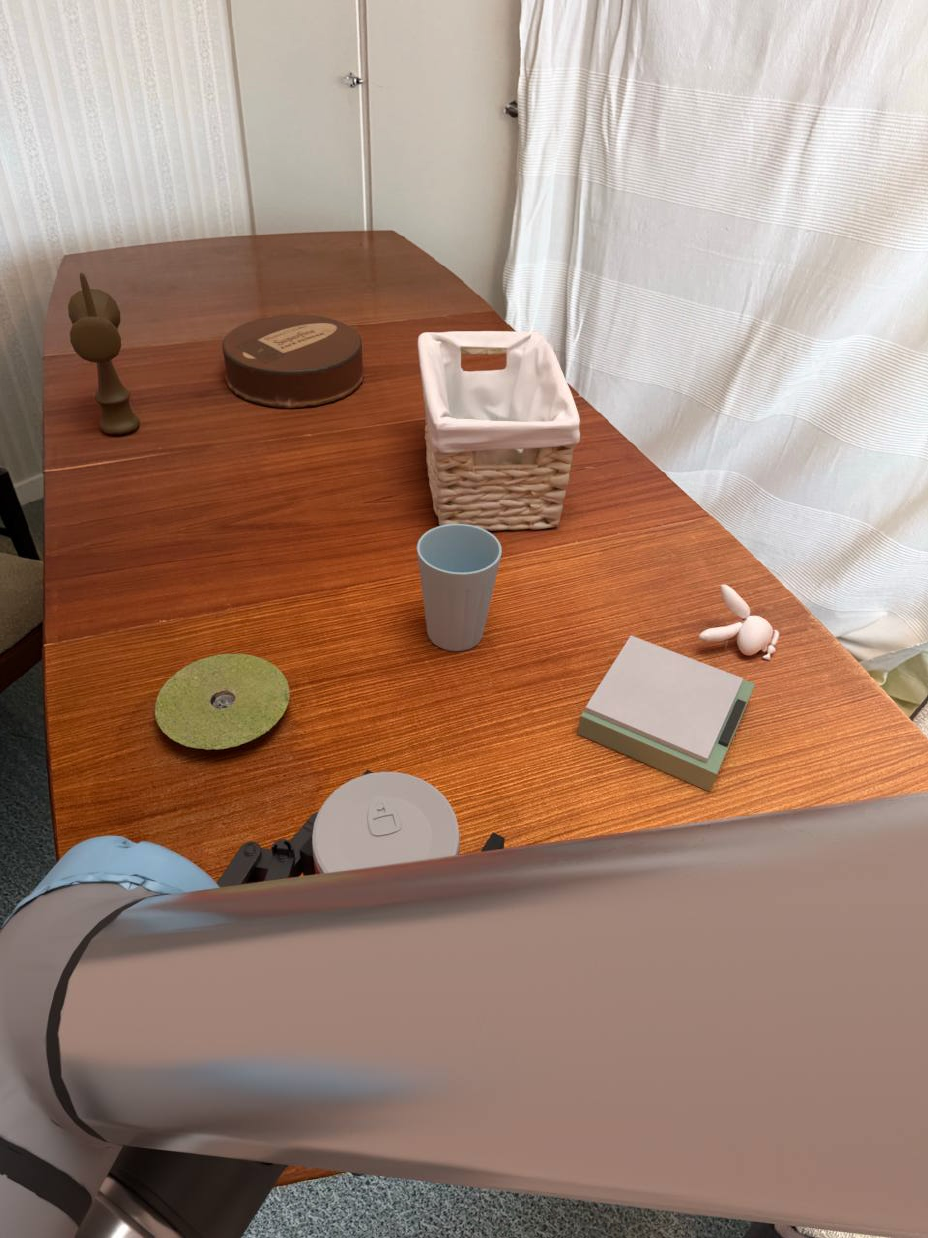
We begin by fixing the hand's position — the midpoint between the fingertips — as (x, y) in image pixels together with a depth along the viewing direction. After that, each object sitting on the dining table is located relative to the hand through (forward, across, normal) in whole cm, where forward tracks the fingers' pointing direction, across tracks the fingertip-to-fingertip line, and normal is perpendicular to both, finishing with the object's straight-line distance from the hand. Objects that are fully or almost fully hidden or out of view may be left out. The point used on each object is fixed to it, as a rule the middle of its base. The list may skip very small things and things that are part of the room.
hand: (433, 816), depth 49 cm
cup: (+28, -14, -14) cm, 35 cm away
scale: (+29, +7, -14) cm, 33 cm away
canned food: (-5, 0, -7) cm, 8 cm away
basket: (+54, -25, -14) cm, 61 cm away
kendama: (+39, -72, -14) cm, 83 cm away
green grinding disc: (+8, -26, -14) cm, 31 cm away
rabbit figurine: (+41, +10, -14) cm, 45 cm away
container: (+64, -62, -14) cm, 91 cm away
